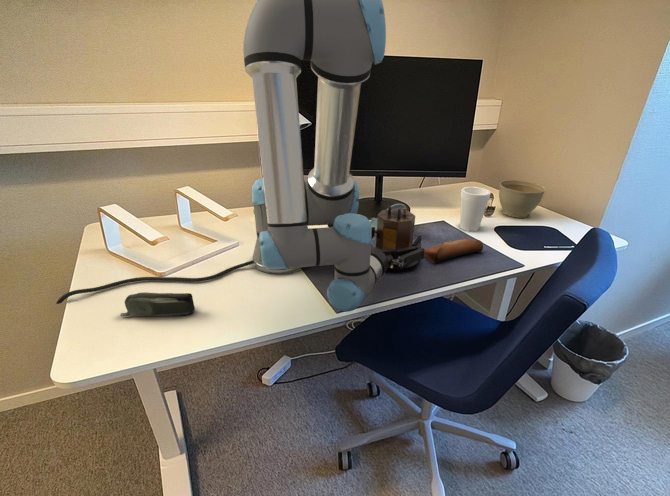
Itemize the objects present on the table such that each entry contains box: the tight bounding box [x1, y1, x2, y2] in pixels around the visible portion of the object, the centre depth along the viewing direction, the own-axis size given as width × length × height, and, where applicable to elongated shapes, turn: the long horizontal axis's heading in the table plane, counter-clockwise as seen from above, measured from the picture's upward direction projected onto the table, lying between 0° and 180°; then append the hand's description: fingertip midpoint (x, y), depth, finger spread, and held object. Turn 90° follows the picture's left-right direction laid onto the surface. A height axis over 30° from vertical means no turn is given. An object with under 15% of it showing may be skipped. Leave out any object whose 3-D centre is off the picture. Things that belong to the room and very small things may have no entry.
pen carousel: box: [375, 205, 416, 255], centre depth 109 cm, size 10×10×14 cm
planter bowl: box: [498, 179, 546, 219], centre depth 149 cm, size 16×16×11 cm
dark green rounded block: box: [120, 291, 196, 317], centre depth 86 cm, size 5×3×15 cm
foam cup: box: [459, 186, 492, 232], centre depth 134 cm, size 10×9×13 cm
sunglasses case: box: [424, 238, 484, 264], centre depth 118 cm, size 18×7×7 cm
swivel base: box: [375, 246, 420, 274], centre depth 113 cm, size 15×15×2 cm
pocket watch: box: [369, 202, 408, 233], centre depth 131 cm, size 10×11×15 cm
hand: (396, 235), depth 110 cm, fingers open, 13 cm apart
